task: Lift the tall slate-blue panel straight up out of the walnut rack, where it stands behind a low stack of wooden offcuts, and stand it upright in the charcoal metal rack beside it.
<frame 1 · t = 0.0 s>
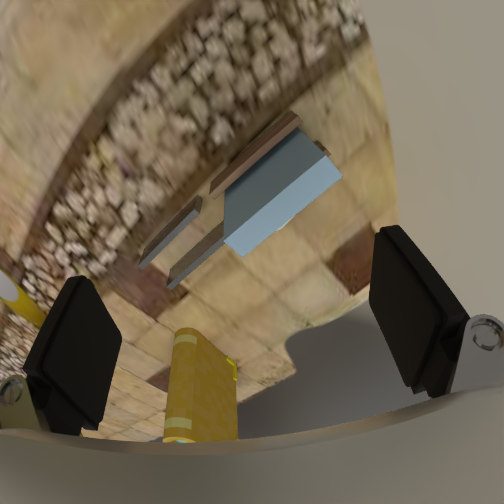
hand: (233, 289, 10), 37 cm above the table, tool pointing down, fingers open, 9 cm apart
tall sheet: (265, 162, 45), on the table
grey rack: (184, 236, 51), on the table
book: (204, 349, 68), on the table
walnut rack: (266, 162, 45), on the table
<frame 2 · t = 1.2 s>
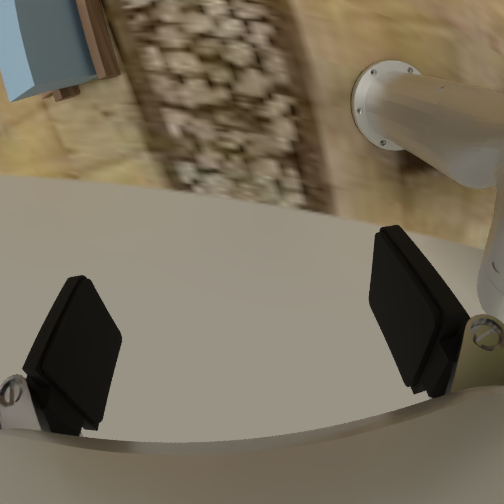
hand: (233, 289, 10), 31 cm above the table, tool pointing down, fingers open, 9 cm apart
tall sheet: (80, 32, 26), on the table
walnut rack: (80, 32, 26), on the table
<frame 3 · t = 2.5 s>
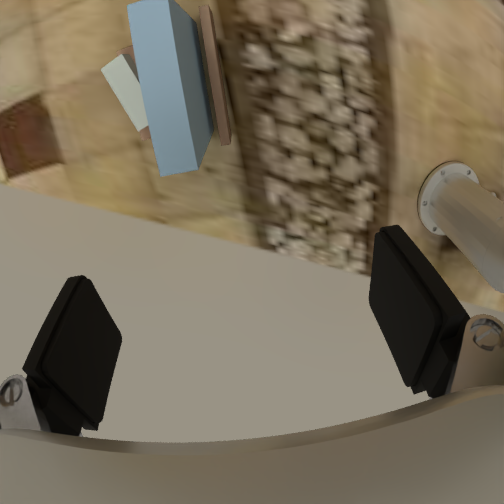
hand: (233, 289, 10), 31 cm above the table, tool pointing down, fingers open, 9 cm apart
tall sheet: (192, 78, 32), on the table
offcut upper: (136, 90, 31), point 2 cm above the table, touching offcut lower
walnut rack: (192, 78, 32), on the table
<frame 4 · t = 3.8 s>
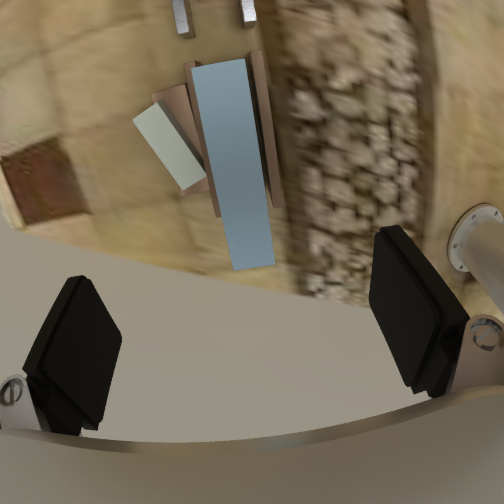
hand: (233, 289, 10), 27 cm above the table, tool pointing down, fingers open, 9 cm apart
tall sheet: (236, 127, 32), on the table
offcut lower: (185, 137, 33), on the table, touching offcut upper
offcut upper: (174, 141, 30), point 2 cm above the table, touching offcut lower
walnut rack: (236, 127, 32), on the table
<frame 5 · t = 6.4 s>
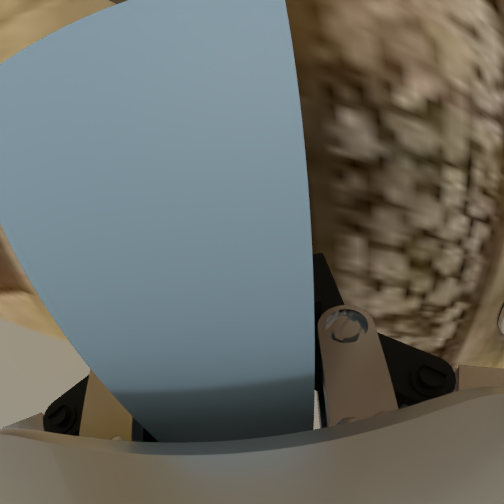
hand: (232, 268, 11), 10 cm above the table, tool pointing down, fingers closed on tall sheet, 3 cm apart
tall sheet: (231, 172, 19), on the table, touching gripper
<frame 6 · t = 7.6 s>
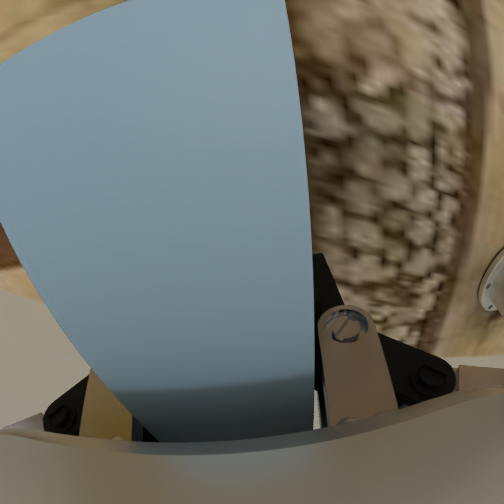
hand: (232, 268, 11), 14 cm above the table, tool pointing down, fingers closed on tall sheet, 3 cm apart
tall sheet: (231, 172, 19), point 4 cm above the table, touching gripper
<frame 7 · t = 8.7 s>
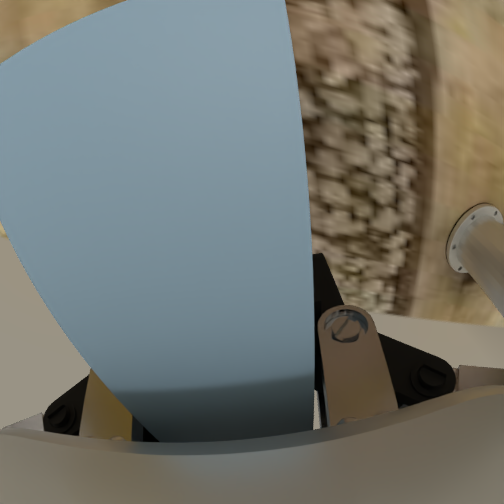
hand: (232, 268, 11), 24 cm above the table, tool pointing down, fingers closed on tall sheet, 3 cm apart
tall sheet: (231, 172, 19), point 14 cm above the table, touching gripper
when the fingers open (11 cm above the table, at t = 15.1 s): tall sheet stays where it is, on the table.
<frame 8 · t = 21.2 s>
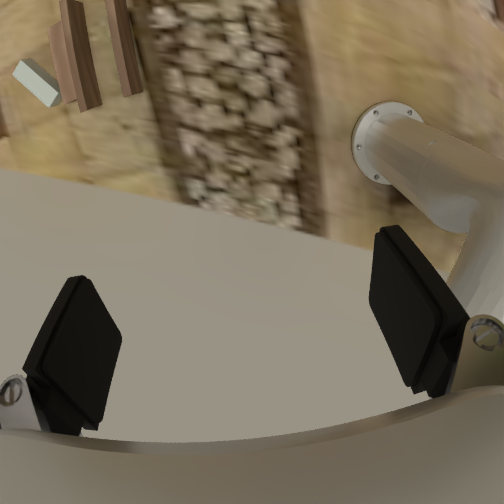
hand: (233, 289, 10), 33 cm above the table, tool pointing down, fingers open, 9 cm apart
offcut lower: (73, 59, 31), on the table
offcut upper: (44, 74, 30), point 1 cm above the table, tilted 90°
walnut rack: (107, 45, 30), on the table
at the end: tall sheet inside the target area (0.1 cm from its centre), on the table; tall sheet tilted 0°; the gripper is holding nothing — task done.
